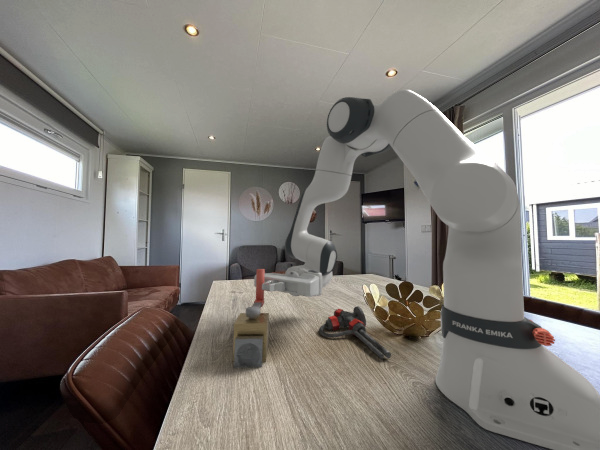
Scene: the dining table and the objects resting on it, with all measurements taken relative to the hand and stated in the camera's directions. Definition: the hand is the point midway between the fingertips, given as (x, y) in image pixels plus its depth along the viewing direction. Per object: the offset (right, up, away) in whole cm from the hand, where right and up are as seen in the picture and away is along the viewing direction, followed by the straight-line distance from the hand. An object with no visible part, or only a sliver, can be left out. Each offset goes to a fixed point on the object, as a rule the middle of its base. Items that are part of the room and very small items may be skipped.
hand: (265, 287), depth 58 cm
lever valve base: (-2, -13, -6) cm, 15 cm away
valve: (+22, -15, +4) cm, 27 cm away
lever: (-2, -5, -2) cm, 6 cm away
